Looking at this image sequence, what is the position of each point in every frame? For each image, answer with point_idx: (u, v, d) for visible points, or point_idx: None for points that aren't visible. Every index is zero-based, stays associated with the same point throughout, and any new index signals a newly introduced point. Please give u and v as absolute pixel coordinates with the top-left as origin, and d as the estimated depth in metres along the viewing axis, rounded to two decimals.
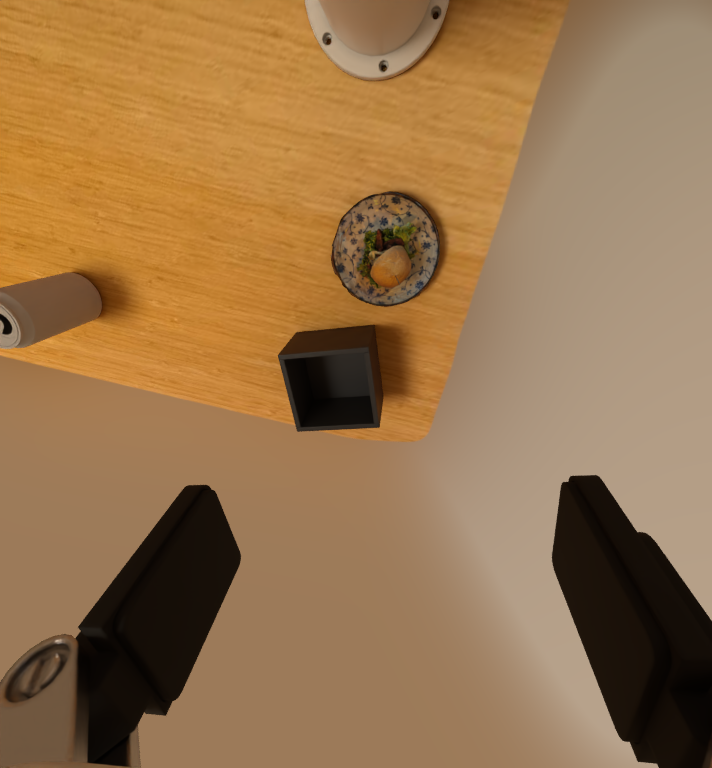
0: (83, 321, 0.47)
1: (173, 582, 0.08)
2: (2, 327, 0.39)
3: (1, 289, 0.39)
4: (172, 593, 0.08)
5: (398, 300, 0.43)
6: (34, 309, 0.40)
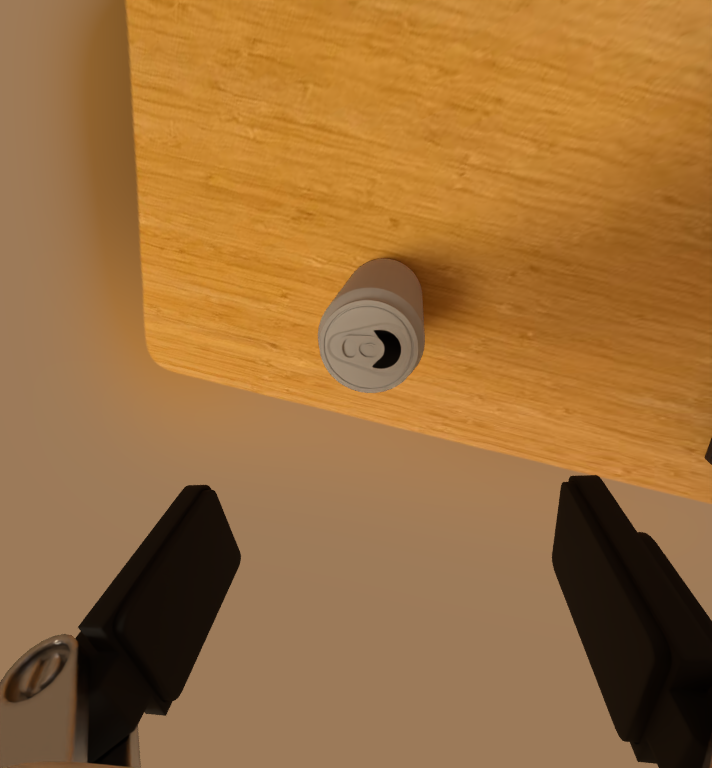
0: None
1: (173, 582, 0.08)
2: (380, 355, 0.21)
3: (379, 285, 0.21)
4: (172, 593, 0.08)
5: None
6: (422, 321, 0.22)
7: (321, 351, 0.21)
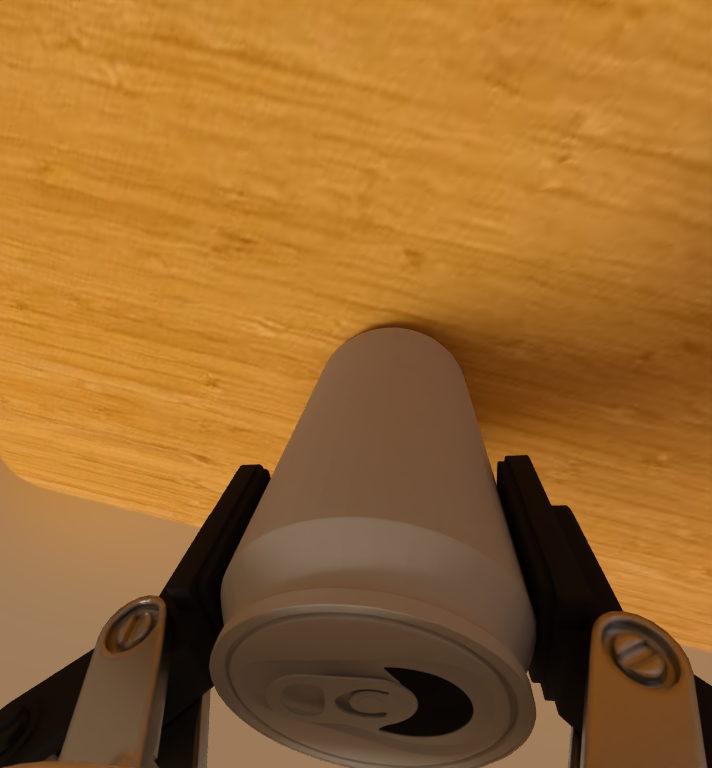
0: None
1: None
2: (403, 714, 0.07)
3: (398, 496, 0.07)
4: None
5: None
6: None
7: (220, 689, 0.07)
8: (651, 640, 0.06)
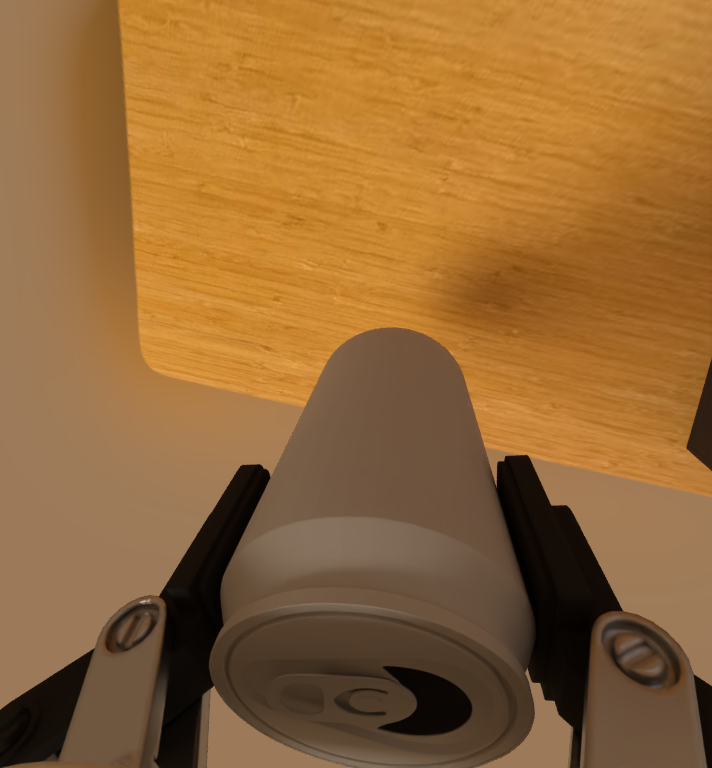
0: None
1: None
2: (403, 713, 0.07)
3: (397, 495, 0.07)
4: None
5: None
6: None
7: (220, 688, 0.07)
8: (651, 640, 0.06)
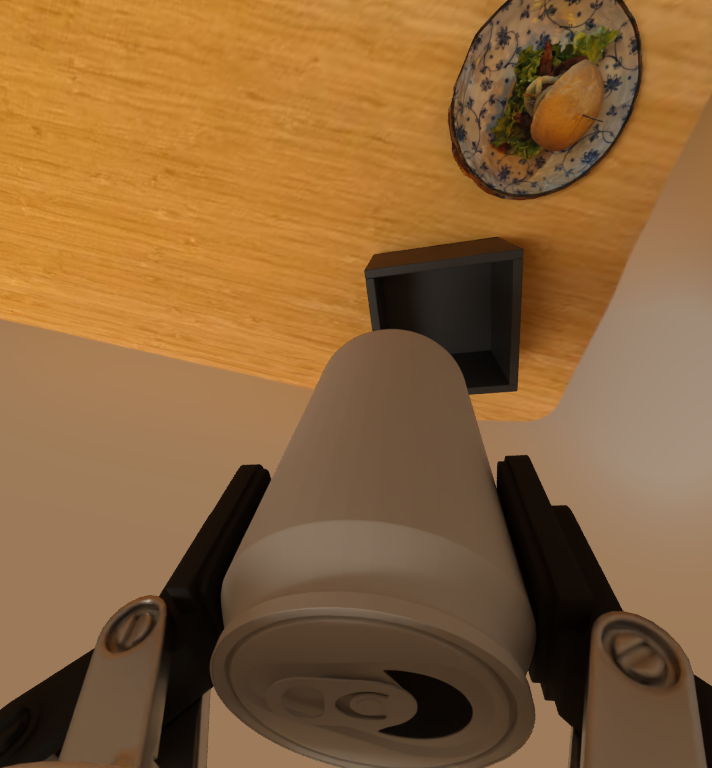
0: None
1: None
2: (403, 716, 0.07)
3: (398, 499, 0.07)
4: None
5: (551, 186, 0.27)
6: (521, 575, 0.08)
7: (220, 692, 0.07)
8: (651, 640, 0.06)
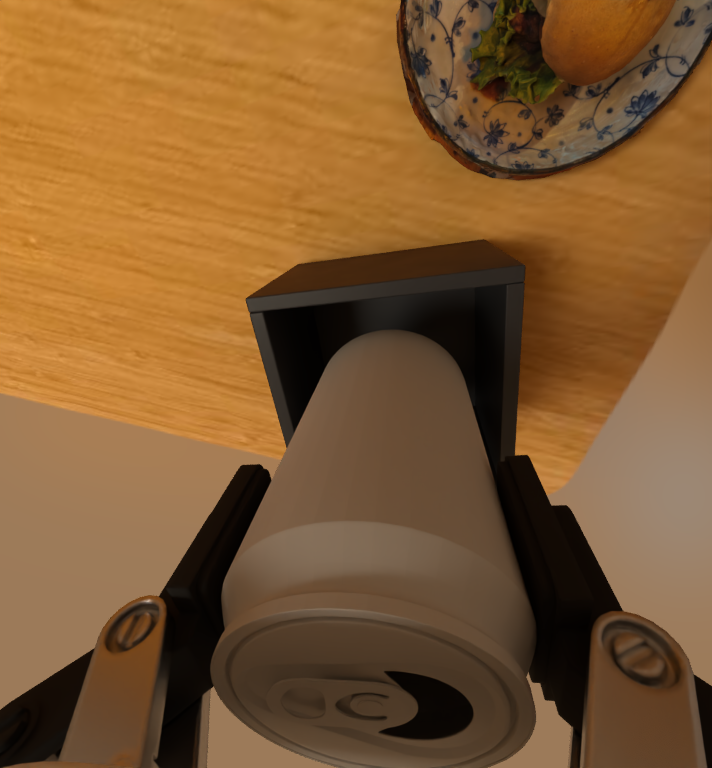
0: None
1: None
2: (403, 717, 0.07)
3: (398, 500, 0.07)
4: None
5: (572, 156, 0.16)
6: (522, 576, 0.08)
7: (221, 692, 0.07)
8: (651, 640, 0.06)
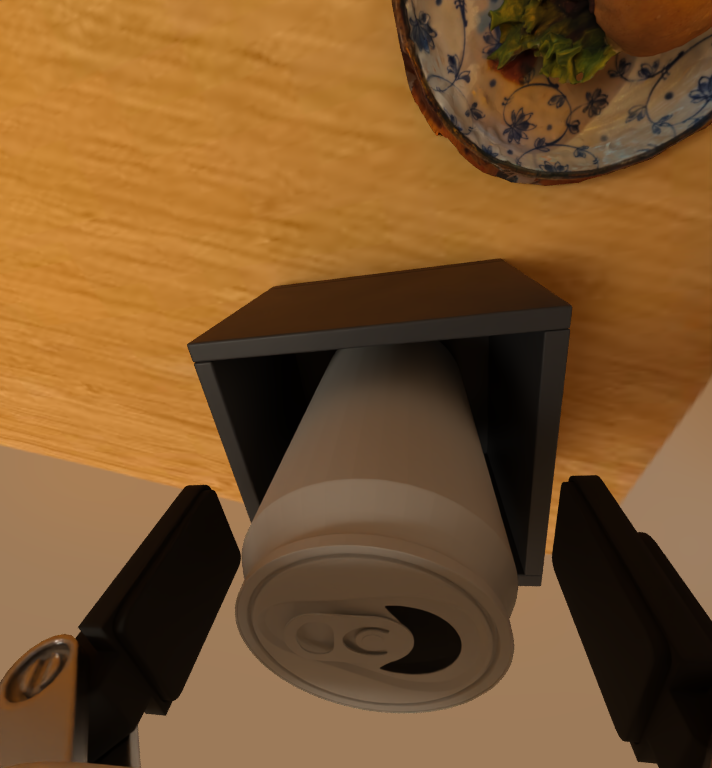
0: None
1: (173, 582, 0.08)
2: (402, 652, 0.08)
3: (397, 463, 0.08)
4: (172, 593, 0.08)
5: (620, 155, 0.12)
6: None
7: (243, 632, 0.08)
8: None
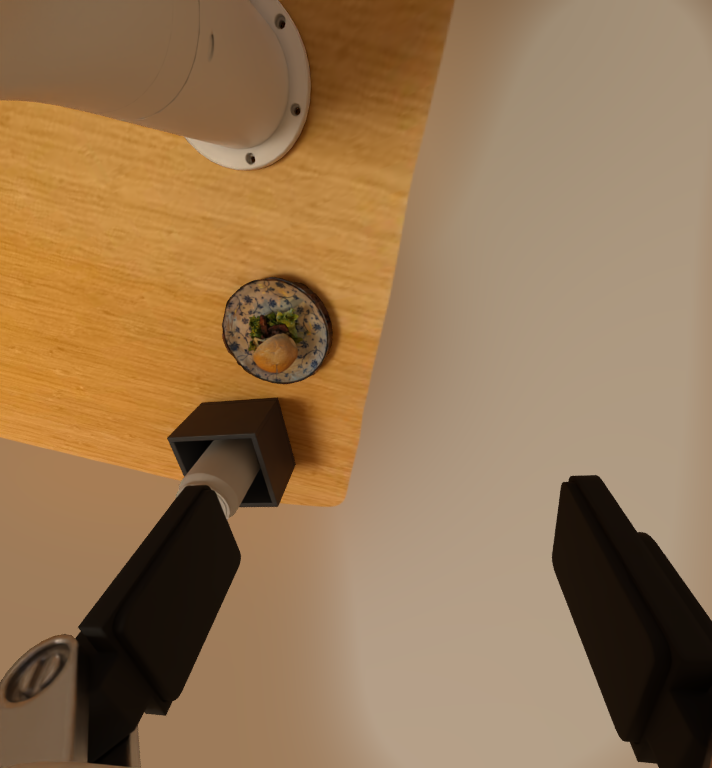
0: None
1: (173, 582, 0.08)
2: None
3: (209, 469, 0.37)
4: (172, 593, 0.08)
5: (294, 378, 0.42)
6: (238, 485, 0.38)
7: None
8: None
